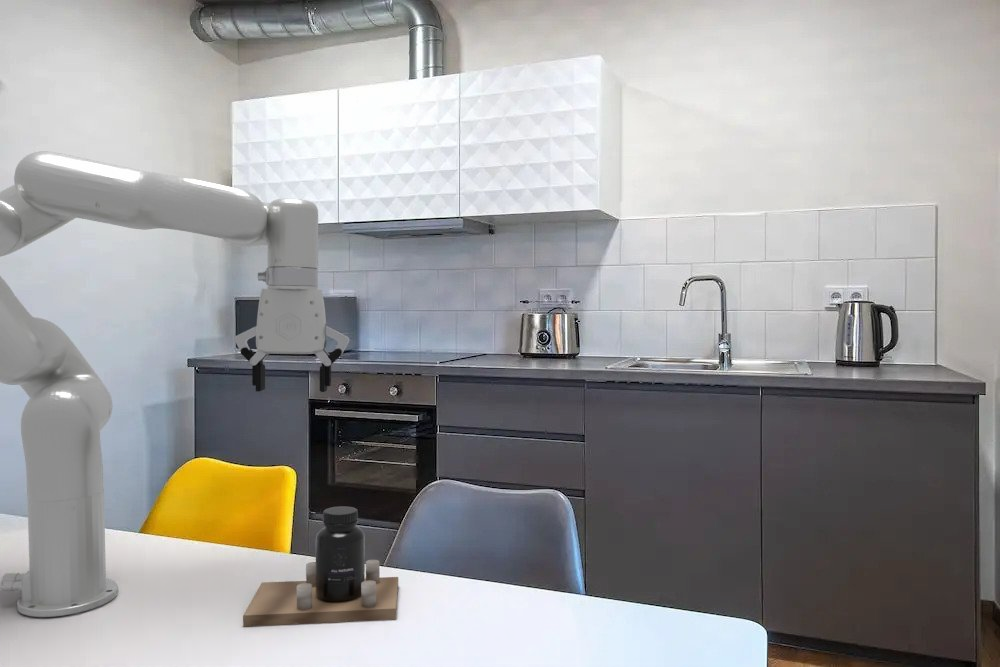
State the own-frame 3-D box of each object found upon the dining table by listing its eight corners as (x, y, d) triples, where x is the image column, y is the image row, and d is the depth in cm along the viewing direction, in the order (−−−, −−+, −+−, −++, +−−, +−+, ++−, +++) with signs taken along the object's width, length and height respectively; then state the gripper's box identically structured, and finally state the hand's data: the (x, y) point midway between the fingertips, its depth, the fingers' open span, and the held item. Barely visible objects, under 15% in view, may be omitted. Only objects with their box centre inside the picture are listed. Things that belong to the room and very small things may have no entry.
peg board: (243, 626, 100) (242, 593, 100) (261, 592, 112) (261, 562, 112) (396, 619, 102) (395, 586, 102) (398, 586, 114) (398, 557, 114)
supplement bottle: (337, 607, 102) (336, 519, 102) (305, 596, 107) (304, 511, 106) (375, 592, 108) (374, 508, 107) (343, 581, 112) (342, 501, 112)
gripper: (228, 278, 113) (228, 393, 113) (346, 280, 114) (345, 394, 114) (241, 280, 120) (241, 388, 121) (352, 282, 121) (351, 388, 122)
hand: (292, 390), depth 118 cm, fingers open, 9 cm apart
